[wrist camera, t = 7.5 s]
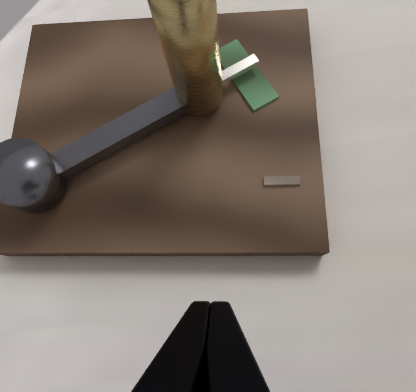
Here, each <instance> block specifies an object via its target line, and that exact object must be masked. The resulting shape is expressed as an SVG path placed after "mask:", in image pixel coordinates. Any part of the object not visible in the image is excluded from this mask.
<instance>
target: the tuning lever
mask: <svg viewBox="0 0 416 392" xmlns="http://www.w3.org/2000/svg"><path fill="white" fill-rule="evenodd" d="M147 1H148V4H149V7H150V11H151V14H152V17H153V20H154V24H155V27H156V30H157V34H158V37H159V40H160V43H161V47H162V50H163V53H164V57H165V60H166V63H167V66H168V70H169V73H170V76H171V80H172V83H173V86H174V87H173V88H171V89H169V90H167V91H166V92H164V93H162V94H160V95H158V96H156V97H154V98H153V99H151V100H149V101H147V102H145V103H143V104H141V105H140V106H138V107H136V108H134V109H132V110H130V111H129V112H127V113H125V114H123V115H121V116H119V117H117V118H116V119H114V120H112V121H110V122H108V123H106V124H105V125H103V126H101V127H99V128H97V129H95V130H93V131H92V132H90V133H88V134H86V135H84V136H82V137H81V138H79V139H77V140H75V141H73V142H71V143H69V144H68V145H66V146H64V147H62V148H60V149H58V150H56V151H55V152H53V153H51V154H50V153H49V152H47V151H46V150H45V149H44V148H42V147H41V146H40V145H38V144H37V143H36V142H34V141H32V140H30V139H27V138H12V139H8V140H5V141H3V142H1V143H0V202H1V203H4V204H6V205H9V206H11V207H14V208H16V209H19V210H21V211H24V212H27V213H40V212H43V211H46V210H48V209H50V208H52V207H53V206H54V205H56V204H57V203H58V202H59V201H60V199H61V198H62V197H63V195H64V193H65V191H66V188H67V184H68V179H69V178H71V177H73V176H75V175H77V174H79V173H80V172H82V171H84V170H86V169H88V168H89V167H91V166H93V165H95V164H97V163H99V162H100V161H102V160H104V159H106V158H108V157H110V156H111V155H113V154H115V153H117V152H119V151H120V150H122V149H124V148H126V147H128V146H130V145H131V144H133V143H135V142H137V141H139V140H140V139H142V138H144V137H146V136H148V135H150V134H151V133H153V132H155V131H157V130H159V129H160V128H162V127H164V126H166V125H168V124H170V123H171V122H173V121H175V120H177V119H179V118H181V117H182V116H184V115H186V114H188V113H189V114H192V115H197V116H200V115H206V114H209V113H211V112H213V111H214V110H215V109H217V108H218V106H219V105H220V103H221V101H222V98H223V88H222V85H223V84H225V83H227V82H229V81H230V80H232V79H234V78H236V77H238V76H240V75H241V74H243V73H245V72H247V71H249V70H250V69H252V68H254V67H256V66H258V65H259V60H258V58H257V57H256V56H255V54H252V55H250V56H249V57H247V58H245V59H243V60H241V61H239V62H237V63H236V64H234V65H232V66H230V67H228V68H226V69H225V70H223V71H221V60H220V47H219V33H218V19H217V5H216V0H147Z"/></svg>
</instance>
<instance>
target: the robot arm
mask: <svg viewBox="0 0 416 392" xmlns="http://www.w3.org/2000/svg"><path fill="white" fill-rule="evenodd" d="M131 392H270V390H269V388H268V386H267V384H266V382H265V379H264V377H263V375H262V373H261V371H260V369H259V366H258V364H257V362H256V360H255V358H254V356H253V353H252V351H251V349H250V347H249V345H248V342H247V340H246V338H245V336H244V334H243V332H242V329H241V327H240V325H239V323H238V321H237V319H236V316H235V314H234V312H233V310H232V308H231V305H230V304H229V303H228V302H221V301H214V302H212V303H211V304H210V302H208V301H194V302H193V303H192V304H191V305H190V306H189V308H188V309H187V311H186V312H185V314H184V315H183V317H182V318H181V319H180V321H179V322H178V324H177V325H176V327H175V328H174V330H173V331H172V333H171V334H170V336H169V337H168V339H167V340H166V341H165V343H164V344H163V346H162V347H161V349H160V350H159V352H158V353H157V355H156V356H155V358H154V359H153V360H152V362H151V363H150V365H149V366H148V368H147V369H146V371H145V372H144V374H143V375H142V377H141V378H140V379H139V381H138V382H137V384H136V385H135V387H134V388H133V390H132V391H131Z"/></svg>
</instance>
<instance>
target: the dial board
mask: <svg viewBox="0 0 416 392" xmlns="http://www.w3.org/2000/svg"><path fill="white" fill-rule="evenodd" d="M217 19H218V33H219V47H220V60H221V71H223V70H225V69H226V68H228V67H230V66H232V65H234V64H236V63H237V62H239V61H241V60H243V59H245V58H247V57H249V56H250V55H252V54H255V56H256V57H257V58H258V60H259V65H258V66H256V67H254V68H252V69H250V70H249V71H247V72H245V73H243V74H241V75H240V76H238V77H236V78H234V79H232V80H230V81H229V82H227V83H225V84H223V85H222V88H223V98H222V101H221V103H220V105H219V106H218V108H217V109H215V110H214V111H213V112H211V113H209V114H206V115H200V116H197V115H192V114H189V113H188V114H186V115H184V116H182V117H181V118H179V119H177V120H175V121H173V122H171V123H170V124H168V125H166V126H164V127H162V128H160V129H159V130H157V131H155V132H153V133H151V134H150V135H148V136H146V137H144V138H142V139H140V140H139V141H137V142H135V143H133V144H131V145H130V146H128V147H126V148H124V149H122V150H120V151H119V152H117V153H115V154H113V155H111V156H110V157H108V158H106V159H104V160H102V161H100V162H99V163H97V164H95V165H93V166H91V167H89V168H88V169H86V170H84V171H82V172H80V173H79V174H77V175H75V176H73V177H71V178H69V179H68V184H67V188H66V191H65V193H64V195H63V197H62V198H61V199H60V201H59V202H58V203H57V204H56V205H54V206H53V207H52V208H50V209H48V210H46V211H43V212H40V213H27V212H24V211H21V210H19V209H16V208H14V207H11V206H9V205H6V204H4V203H1V202H0V255H5V256H274V255H325V254H327V253H329V241H328V230H327V219H326V208H325V197H324V186H323V175H322V165H321V154H320V143H319V132H318V121H317V110H316V99H315V88H314V77H313V66H312V55H311V44H310V34H309V23H308V12H307V9H293V10H276V11H259V12H242V13H225V14H217ZM173 87H174V86H173V83H172V80H171V76H170V73H169V70H168V66H167V63H166V60H165V57H164V53H163V50H162V47H161V43H160V40H159V37H158V34H157V30H156V27H155V24H154V20H153V18H141V19H124V20H107V21H90V22H73V23H56V24H39V25H33V26H32V32H31V37H30V42H29V48H28V53H27V58H26V64H25V69H24V74H23V80H22V85H21V90H20V96H19V101H18V106H17V112H16V117H15V123H14V128H13V133H12V138H27V139H30V140H32V141H34V142H36V143H37V144H38V145H40V146H41V147H42V148H44V149H45V150H46V151H47V152H49V153H50V154H51V153H53V152H55V151H56V150H58V149H60V148H62V147H64V146H66V145H68V144H69V143H71V142H73V141H75V140H77V139H79V138H81V137H82V136H84V135H86V134H88V133H90V132H92V131H93V130H95V129H97V128H99V127H101V126H103V125H105V124H106V123H108V122H110V121H112V120H114V119H116V118H117V117H119V116H121V115H123V114H125V113H127V112H129V111H130V110H132V109H134V108H136V107H138V106H140V105H141V104H143V103H145V102H147V101H149V100H151V99H153V98H154V97H156V96H158V95H160V94H162V93H164V92H166V91H167V90H169V89H171V88H173Z"/></svg>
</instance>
